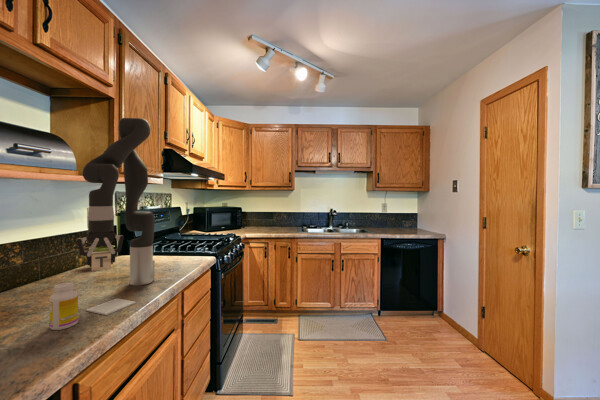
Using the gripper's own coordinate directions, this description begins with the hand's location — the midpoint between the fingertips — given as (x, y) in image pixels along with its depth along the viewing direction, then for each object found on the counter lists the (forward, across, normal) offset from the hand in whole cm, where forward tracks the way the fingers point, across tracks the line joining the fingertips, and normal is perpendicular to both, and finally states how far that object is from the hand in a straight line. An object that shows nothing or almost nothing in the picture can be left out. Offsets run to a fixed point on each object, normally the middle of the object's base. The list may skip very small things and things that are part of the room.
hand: (101, 264), depth 97 cm
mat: (+15, -3, +2) cm, 16 cm away
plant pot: (+16, -1, -68) cm, 69 cm away
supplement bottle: (+16, +9, +10) cm, 21 cm away
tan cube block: (+1, 0, 0) cm, 1 cm away
